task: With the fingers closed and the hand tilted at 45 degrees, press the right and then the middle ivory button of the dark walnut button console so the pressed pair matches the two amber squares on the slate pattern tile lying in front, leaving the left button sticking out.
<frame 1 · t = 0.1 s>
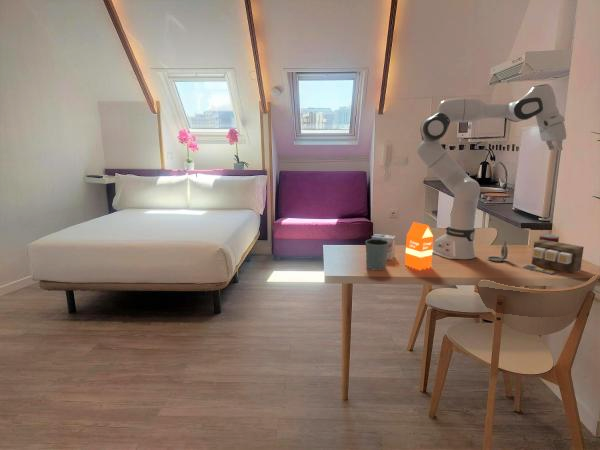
hand: (555, 150, 185), 52 cm above the table, tool tilted 20°, fingers open, 8 cm apart
button middle: (553, 254, 182), point 7 cm above the table, slide at 0.0 cm
orange juice: (417, 266, 186), on the table
grey green cup: (375, 267, 185), on the table
button left: (540, 252, 186), point 7 cm above the table, slide at 0.0 cm
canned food: (546, 257, 201), on the table
button right: (566, 257, 178), point 7 cm above the table, slide at 0.0 cm
light bulb box: (382, 257, 201), on the table
console: (555, 266, 186), on the table
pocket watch: (498, 261, 195), on the table
pattern tile: (539, 270, 181), on the table
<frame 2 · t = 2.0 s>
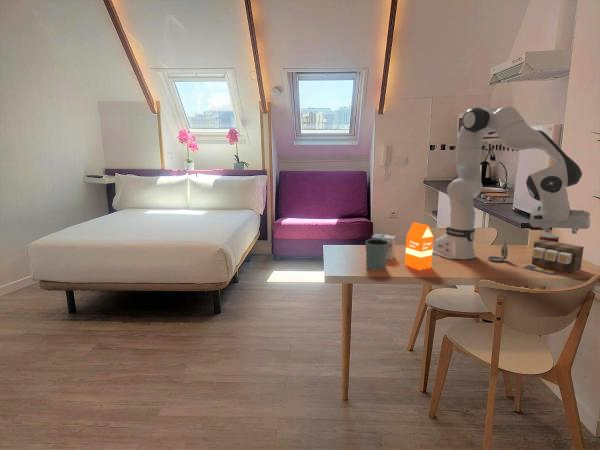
hand: (560, 231, 167), 20 cm above the table, tool tilted 45°, fingers open, 8 cm apart
nothing on the table moved.
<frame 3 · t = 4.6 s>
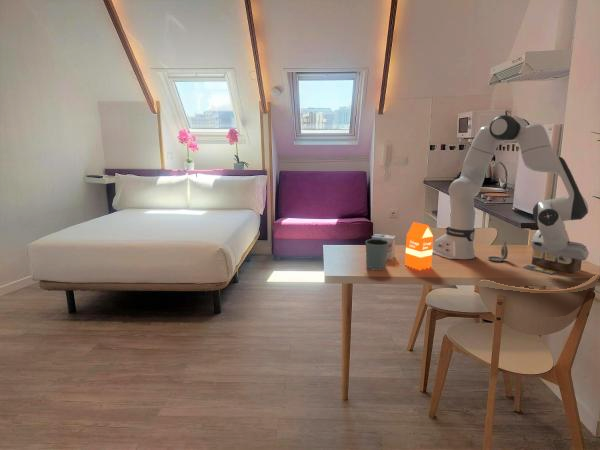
hand: (562, 258, 175), 7 cm above the table, tool tilted 45°, fingers closed, pressing on button right
button right: (566, 257, 178), point 7 cm above the table, slide at 0.1 cm, touching gripper
everything else where it was.
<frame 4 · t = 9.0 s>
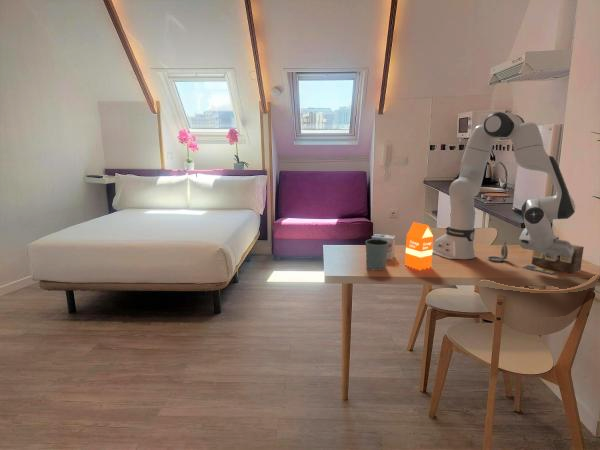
hand: (549, 255, 179), 7 cm above the table, tool tilted 45°, fingers closed, pressing on button middle
button middle: (553, 254, 182), point 7 cm above the table, slide at 0.2 cm, touching gripper
button right: (568, 256, 179), point 7 cm above the table, slide at 2.6 cm
everything else where it was.
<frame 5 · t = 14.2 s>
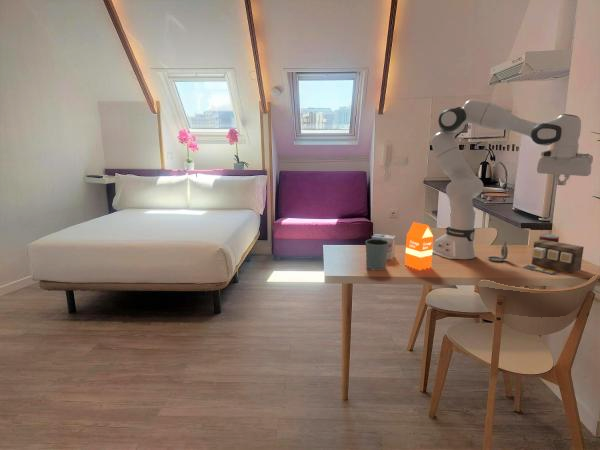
hand: (561, 185, 179), 37 cm above the table, tool pointing down, fingers closed
button middle: (555, 253, 183), point 7 cm above the table, slide at 2.6 cm
everything else where it was.
at the end: button right slide at 2.6 cm; button middle slide at 2.6 cm; button left slide at 0.0 cm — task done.
